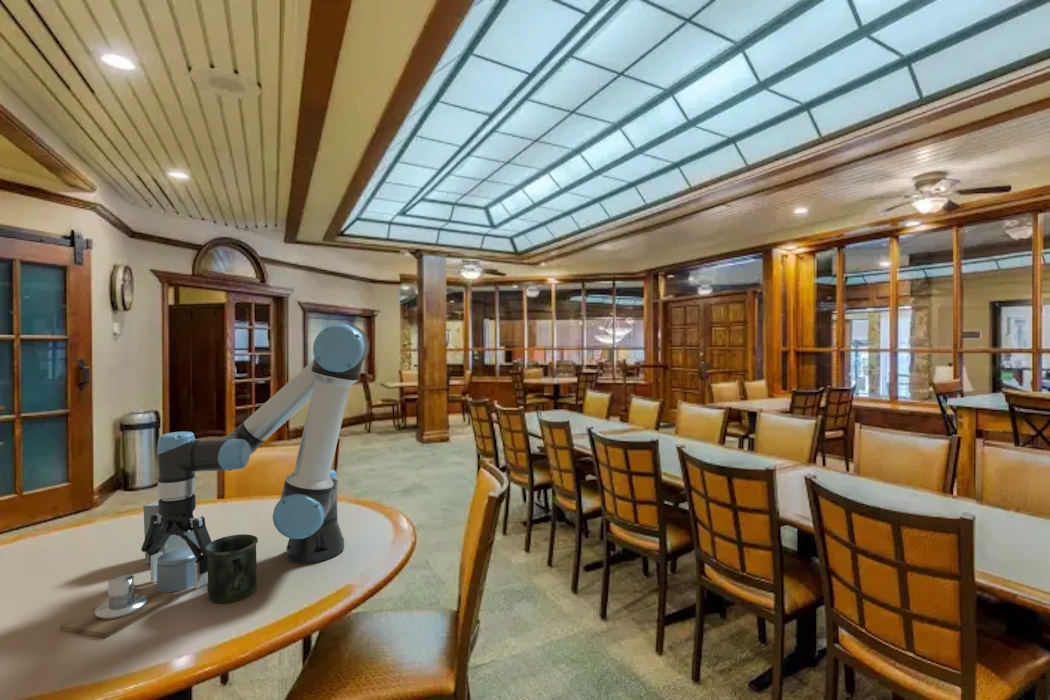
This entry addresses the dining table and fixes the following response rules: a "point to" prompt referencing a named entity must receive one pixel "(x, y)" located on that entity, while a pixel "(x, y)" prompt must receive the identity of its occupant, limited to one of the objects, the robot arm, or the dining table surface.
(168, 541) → the skincare box
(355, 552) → the dining table surface
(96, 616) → the stud
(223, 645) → the dining table surface
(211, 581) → the mug
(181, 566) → the cap
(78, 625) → the base board
